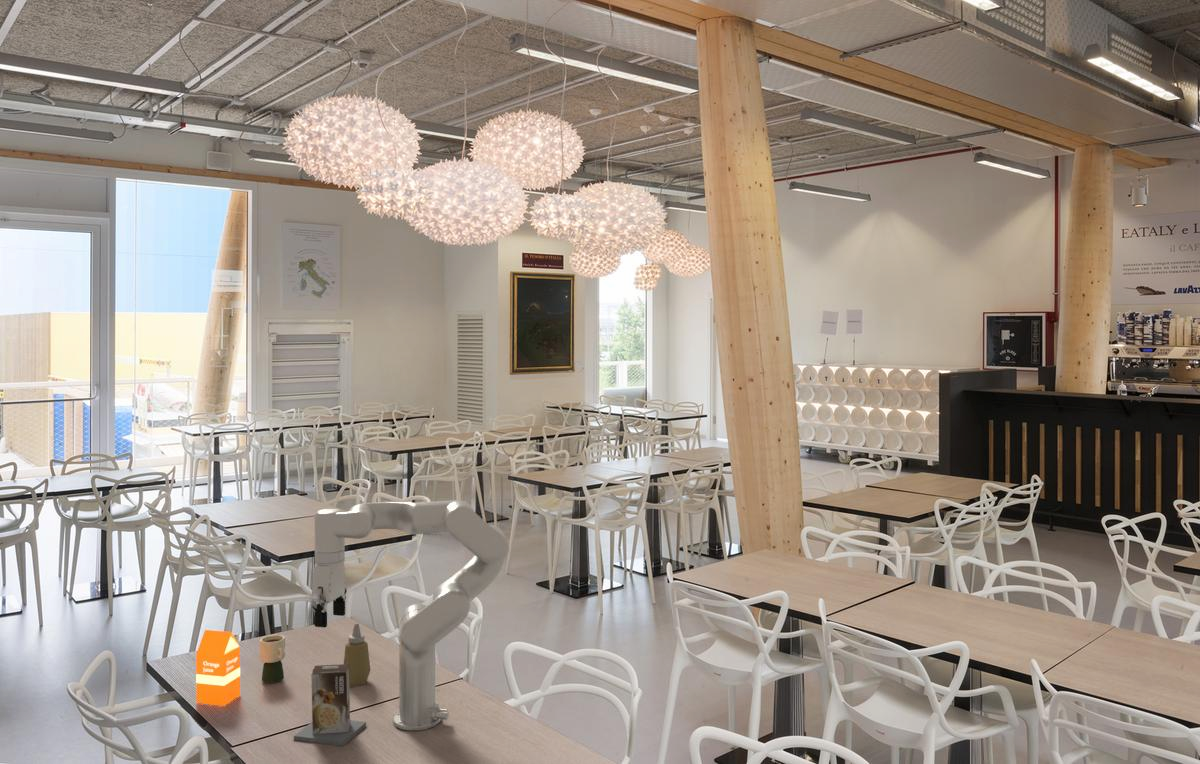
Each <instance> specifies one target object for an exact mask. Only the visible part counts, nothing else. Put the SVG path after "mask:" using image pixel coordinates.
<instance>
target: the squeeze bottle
mask: <svg viewBox="0 0 1200 764" xmlns="http://www.w3.org/2000/svg"><path fill="white" fill-rule="evenodd" d="M365 638H366V637H365V634H363V633H361V629H360V625H359V623H358V622H356V623H354V625H353V628H352V633H351V634H349V635H348V642H346V643H345V647H344V655H343V657H344V658H343V664H349V687H357V686H363V685H365V684H366V683H367V681H368V679H369V675H370V673H371V665H370V662H371V661H370V653H369V646H368V645H369V644H368V642H367V641H365Z"/></svg>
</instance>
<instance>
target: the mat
mask: <svg viewBox="0 0 1200 764" xmlns="http://www.w3.org/2000/svg"><path fill="white" fill-rule="evenodd" d="M366 726H367V722H366V721H361V720H360V721H359V720H353V719H350V727H349V730H348V732H343V733H327V734H313V733H312V721H311V722H309V724H307V725H306V726H305V727H304V728H302V729H300V731H298V732H297V733H295V734H294V735H293V740H295V741H301V740H302V741H304V742H310V743H316V742H317V743H318V744H325V745H333V746H339V747H341V746H342V747H343V746H345V745H346V744H348V742H350V740H352V739H353V738H354V737H355V736H356V735H358V734H359V733H360V732H361V731H362V730H363V729H364V728H365V727H366Z"/></svg>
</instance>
